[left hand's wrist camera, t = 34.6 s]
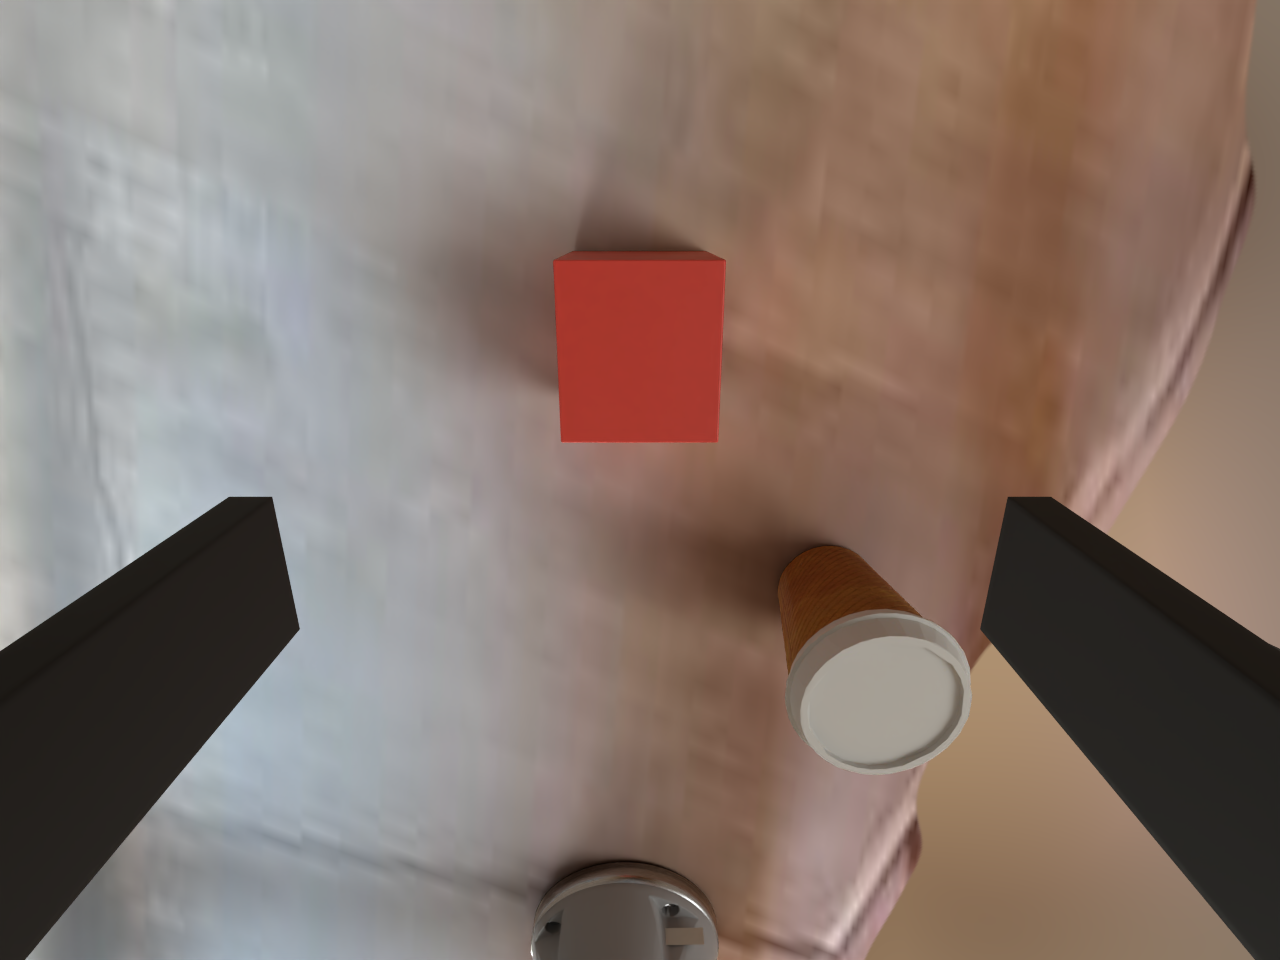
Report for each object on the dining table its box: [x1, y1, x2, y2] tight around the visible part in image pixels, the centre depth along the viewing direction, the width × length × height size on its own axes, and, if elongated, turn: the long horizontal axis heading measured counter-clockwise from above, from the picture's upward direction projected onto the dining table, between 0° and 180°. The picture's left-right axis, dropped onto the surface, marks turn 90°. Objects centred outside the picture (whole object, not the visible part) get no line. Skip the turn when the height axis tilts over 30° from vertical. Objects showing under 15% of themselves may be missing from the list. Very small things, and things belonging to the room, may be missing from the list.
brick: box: [553, 251, 726, 442], centre depth 35 cm, size 8×8×9 cm
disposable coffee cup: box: [778, 546, 972, 775], centre depth 40 cm, size 10×10×12 cm
